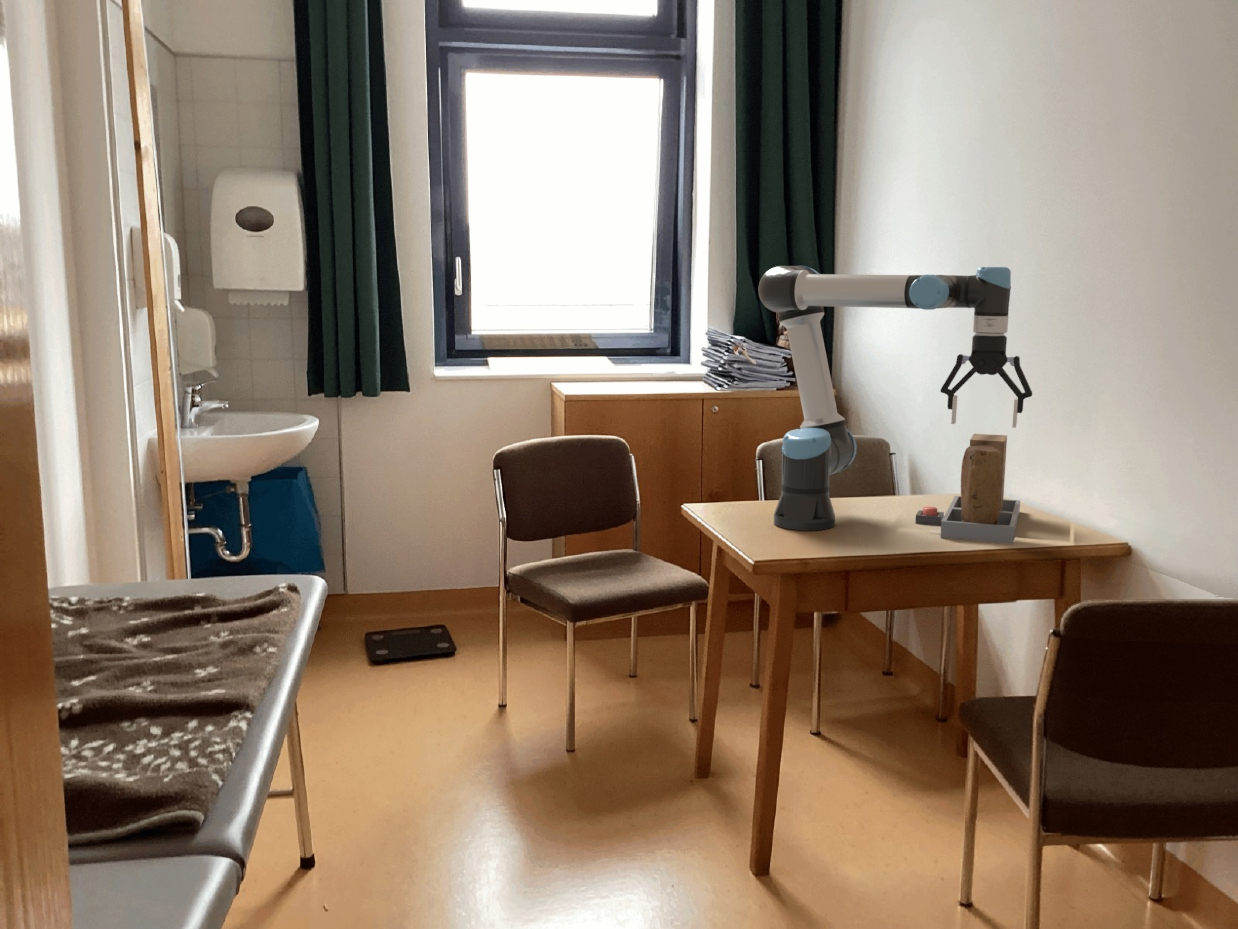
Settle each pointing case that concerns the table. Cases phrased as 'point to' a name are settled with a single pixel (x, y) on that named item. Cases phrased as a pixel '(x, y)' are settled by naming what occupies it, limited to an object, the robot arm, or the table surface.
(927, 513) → the button
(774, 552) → the table surface
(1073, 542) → the table surface
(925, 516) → the button housing
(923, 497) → the table surface
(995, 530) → the gray divided tray
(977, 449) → the block
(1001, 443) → the seated billet
